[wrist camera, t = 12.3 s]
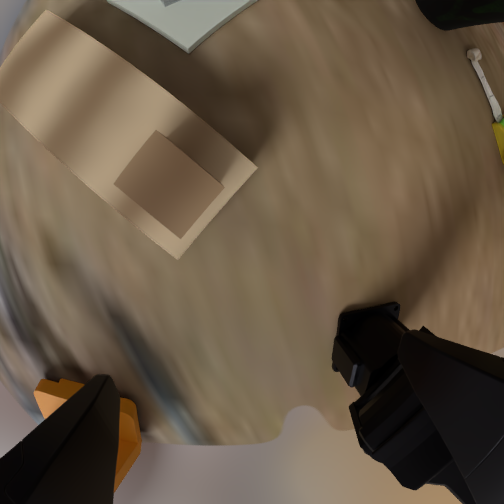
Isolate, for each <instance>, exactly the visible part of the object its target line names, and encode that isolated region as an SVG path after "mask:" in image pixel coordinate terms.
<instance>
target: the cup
mask: <svg viewBox="0 0 504 504" xmlns="http://www.w3.org/2000/svg"><path fill="white" fill-rule="evenodd" d="M416 3H417V5H418V7H419V8H420V10H421V11H422V13H423V14H424V15H425V16H426V18H427V19H428V20H429V21H430V22H431V23H432V24H434V25H435V26H436V27H438V28H439V29H442V30H452V29H457V28H462V27H468V26H474V25H481V24H488V23H497V22H504V0H416Z"/></svg>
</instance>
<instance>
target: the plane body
mask: <svg viewBox="0 0 504 504" xmlns="http://www.w3.org/2000/svg"><path fill="white" fill-rule="evenodd" d="M0 103H1V104H2V105H3V106H4V107H5V108H6V109H7V110H8V111H9V112H10V113H11V114H12V115H13V116H14V117H15V119H16V120H17V121H18V122H19V123H20V124H21V125H23V126H24V127H25V128H26V129H27V130H28V131H29V132H30V133H31V134H32V135H33V136H34V137H35V138H36V139H37V140H38V141H39V142H40V143H41V144H42V145H43V146H44V147H45V148H46V149H47V150H48V151H50V152H51V153H52V154H53V155H54V156H55V157H56V158H57V159H58V160H59V161H60V162H61V163H63V164H64V165H65V166H66V167H67V168H68V169H69V170H70V171H71V172H72V173H74V174H75V175H76V176H77V177H78V178H79V179H80V180H81V181H83V182H84V183H85V184H86V185H87V186H88V187H89V188H91V189H92V190H93V191H94V192H95V193H96V194H97V195H99V196H100V197H101V198H102V199H103V200H104V201H106V202H107V203H108V204H109V205H110V206H112V207H113V208H114V209H115V210H116V211H117V212H119V213H120V214H121V215H122V216H123V217H125V218H126V219H127V220H128V221H129V222H131V223H132V224H133V225H134V226H136V227H137V228H138V229H139V230H140V231H142V232H143V233H144V234H145V235H147V236H148V237H149V238H150V239H152V240H153V241H154V242H155V243H157V244H158V245H159V246H160V247H162V248H163V249H164V250H166V251H167V252H168V253H169V254H171V255H172V256H173V257H175V258H176V259H177V260H178V259H179V258H180V257H181V255H182V254H183V253H184V252H185V251H186V249H187V248H188V247H189V246H190V245H191V243H192V242H193V241H194V240H195V239H196V237H197V236H198V235H199V234H200V233H201V232H202V230H203V229H204V228H205V227H206V226H207V225H208V223H209V222H210V221H211V220H212V219H213V218H214V216H215V215H216V214H217V213H218V212H219V211H220V209H221V208H222V207H223V206H224V205H225V204H226V203H227V201H228V200H229V199H230V198H231V197H232V196H233V195H234V194H235V192H236V191H237V190H238V189H239V188H240V187H241V186H242V185H243V184H244V182H245V181H246V180H247V179H248V178H249V177H250V176H251V175H252V174H253V173H254V171H255V170H256V169H257V167H256V166H255V165H254V164H253V163H252V162H251V161H250V160H249V159H248V158H246V157H245V156H244V155H243V154H242V153H241V152H240V151H239V150H237V149H236V148H235V147H234V146H233V145H232V144H231V143H229V142H228V141H227V140H226V139H225V138H224V137H222V136H221V135H220V134H219V133H218V132H217V131H215V130H214V129H213V128H212V127H211V126H209V125H208V124H207V123H206V122H205V121H204V120H202V119H201V118H200V117H199V116H197V115H196V114H195V113H194V112H193V111H191V110H190V109H189V108H188V107H186V106H185V105H184V104H183V103H181V102H180V101H179V100H178V99H176V98H175V97H174V96H173V95H171V94H170V93H169V92H167V91H166V90H165V89H164V88H162V87H161V86H160V85H158V84H157V83H156V82H154V81H153V80H152V79H150V78H149V77H148V76H146V75H145V74H144V73H142V72H141V71H140V70H138V69H137V68H136V67H134V66H133V65H131V64H130V63H129V62H127V61H126V60H124V59H123V58H122V57H120V56H119V55H117V54H116V53H114V52H113V51H112V50H110V49H109V48H107V47H106V46H104V45H103V44H101V43H100V42H98V41H97V40H95V39H94V38H92V37H91V36H89V35H88V34H86V33H85V32H83V31H81V30H80V29H78V28H77V27H75V26H73V25H72V24H70V23H69V22H67V21H65V20H64V19H62V18H60V17H59V16H57V15H55V14H53V13H52V12H50V11H48V10H45V11H44V12H43V13H42V15H41V16H40V17H39V18H38V19H37V20H36V21H35V22H34V24H33V25H32V26H31V27H30V28H29V29H28V31H27V32H26V33H25V34H24V36H23V37H22V38H21V39H20V41H19V42H18V43H17V45H16V46H15V47H14V49H13V50H12V51H11V53H10V54H9V56H8V57H7V58H6V60H5V61H4V63H3V64H2V66H1V67H0Z"/></svg>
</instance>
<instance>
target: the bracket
mask: <svg viewBox="0 0 504 504" xmlns="http://www.w3.org/2000/svg"><path fill="white" fill-rule="evenodd" d="M84 385H85V384H82V383H78V382H74V381H70V380H66V379H62V378H61V379H60V381H59V383H57V382H53V381H50V380H47V379H41V380H40V382H39V384H38V386H37V387H36V389H35V391H34V396H35V398H36V401H37V403H38V405H39V407H40V410H41V412H42V414H43V416H44V418H45V419H46V418H47V417H49V416H50V415H51V414H52V413H53V412H54V411H55V410H56V409H58V408H59V407H60V406H61V405H62V404H63V403H64V402H66V401H67V400H68V399H69V398H70V397H71V396H72V395H74V394H75V393H76V392H77V391H78V390H79V389H80V388H82V387H83V386H84ZM141 442H142V439H141V434H140V428H139V422H138V416H137V409H136V405H135V403H134V402H133V401H131V400H129V399H126V398H121V397H120V421H119V447H118V456H117V464H116V474H115V484H114V492H115V491H116V489H117V488H118V486H119V485H120V483H121V482H122V480H123V479H124V477H125V476H126V474H127V473H128V471H129V470H130V468H131V467H132V465H133V464H134V462H135V461H136V459H137V457H138V456H139V454H140V451H141Z"/></svg>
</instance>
